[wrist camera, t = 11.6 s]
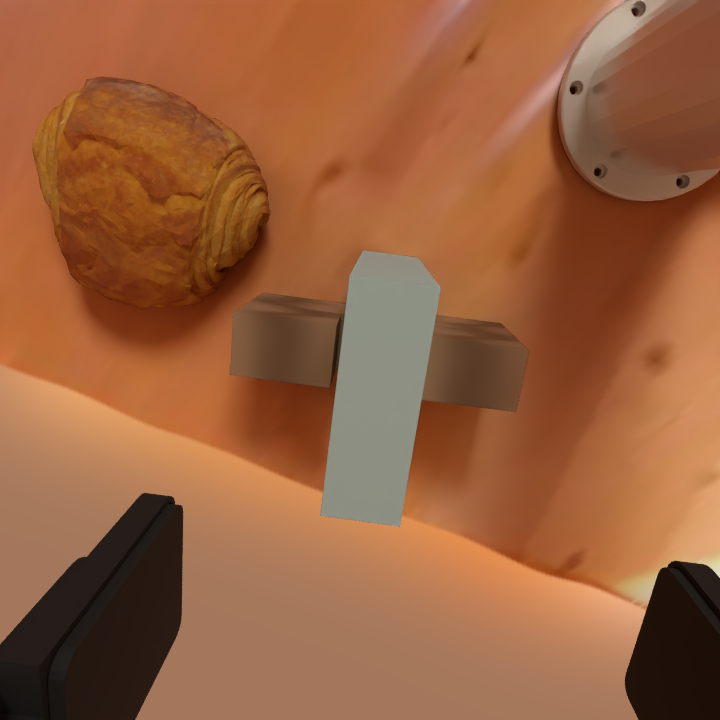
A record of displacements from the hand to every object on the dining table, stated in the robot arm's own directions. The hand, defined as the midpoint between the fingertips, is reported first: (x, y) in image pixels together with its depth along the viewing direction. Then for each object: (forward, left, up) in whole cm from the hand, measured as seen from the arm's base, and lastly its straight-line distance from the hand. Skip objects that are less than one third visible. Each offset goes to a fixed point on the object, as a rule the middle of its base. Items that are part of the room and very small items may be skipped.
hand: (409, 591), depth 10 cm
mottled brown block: (+1, +2, -30) cm, 30 cm away
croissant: (+18, -6, -31) cm, 36 cm away
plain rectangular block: (+1, +2, -30) cm, 30 cm away
